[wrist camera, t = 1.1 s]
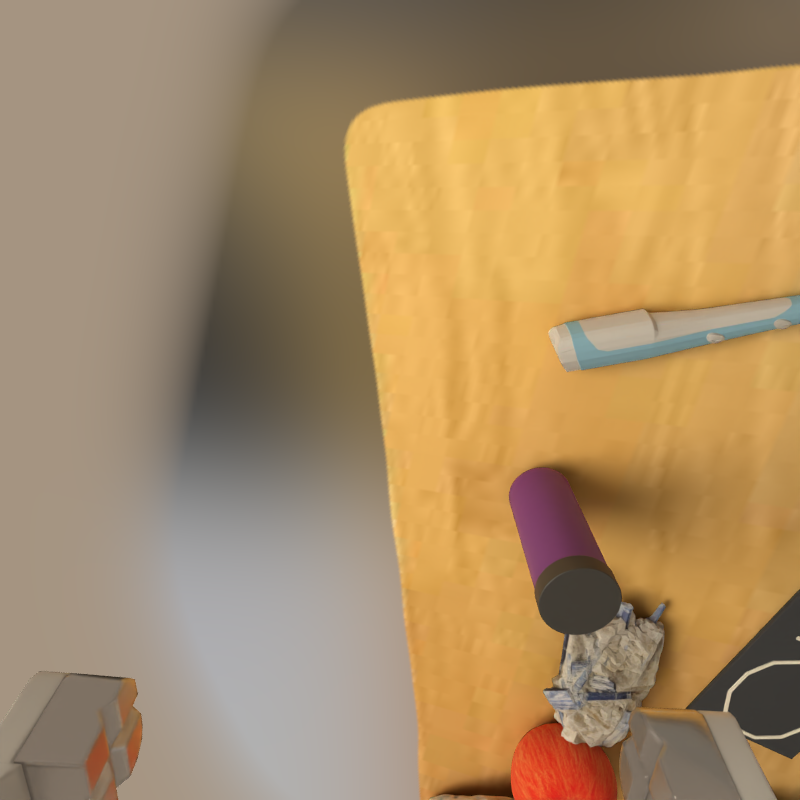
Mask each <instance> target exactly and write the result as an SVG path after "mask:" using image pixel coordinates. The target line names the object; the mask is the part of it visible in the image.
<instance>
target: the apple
mask: <svg viewBox="0 0 800 800" xmlns="http://www.w3.org/2000/svg"><path fill="white" fill-rule="evenodd" d="M562 730H563V726H562V724H561V723H549V724H545V725H541V726H538V727H535V728H533V729H532V730H530V731H529V732H528V733H527V734H526V735H525V736H524V737H523V738H522V739H521V741H520V742H519V744H518V745H517V748H516V750H515V752H514V756H513V760H512V767H511V788H512V793H513V796H514V799H515V800H617V782H616V777H615V774H614V771H613V768H612V766H611V763H610V761H609V759H608V757H607V755H606V754H605V752H604V751H603V750H602V748H601V747H599V746H594V747H590V746H589V745H588V744H587V743H579V744H573V743H572V742H569V741H567V740H566V739H564V737H563V736H561V732H562Z"/></svg>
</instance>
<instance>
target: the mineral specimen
mask: <svg viewBox="0 0 800 800" xmlns="http://www.w3.org/2000/svg"><path fill="white" fill-rule="evenodd" d="M665 607H666V606H665V605H664V604H663V603H661V604H660V605H659V606H658V608H657V609H656V611H655V612H654V613H653V615H652V616H650V617H648V618H646V619H643V618H639V619H635V614H634V612H632V611H633V608H634V607H633V606H632V605H631V603H626V602H621V606H620V609H619V611H618V613H617V615H616V616H615V617H614V619H613V620H612V621H611V622H610V623H609V624H607V625H606V626H605V627H603V628H601V629H599V630H597V631H595V632H592V633H589V634H583V635H569V634H565V637H564V644H563V651H562V658H561V663H560V670H559V675H557V676H555V677H554V678H552V682H553V686H554V687H552V688H546V689H544V690H543V692H544V695H545V696H546V698H547V700H548V701H549V703H550V704H551V705H552V706H553V708H554V709H555V714H554V718H555V719H556V720H557V721H558V722H559V723H561V724H562V726H563V730H562V732H561V736H563V737H564V739H566V740H567V741H569V742H572V743H573V744H579V743H587V744H588V745H589V746H590V747H594V746H599V747H602V746H605V747H612V746H613V745H614V744H615V743H617V742H619V741H621V740H623V739H624V738H625V737H626V735H627V733H628V731H629V729H630V727H629V724H628V722H629V718H630V715H631V712H632V711H633V710H634V709H635V707H642V703H641V701H642V700H643V699H644V698H646V696H647V695H648V693H649V689H650V688H652V687H653V686H654V684H655V681H656V677H655V676H656V672H657V671H658V669H659V667H658V663H659V659H660V654H661V652H662V650H663V643H664V632H665V631H664V630H663V629H664V625H663V623H661V622H660V621H659V622H657V620H658V619H659V617H660V616H661V614H662V613H663V611H664V609H665Z"/></svg>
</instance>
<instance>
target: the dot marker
mask: <svg viewBox="0 0 800 800" xmlns="http://www.w3.org/2000/svg"><path fill="white" fill-rule="evenodd" d="M509 501H510V505H511V508H512V512H513V515H514V519H515V522H516V526H517V529H518V533H519V536H520V539H521V543H522V546H523V550H524V553H525V557H526V560H527V564H528V567H529V571H530V574H531V578H532V581H533V585H534V588H535V598H536V602H537V605H538V609H539V612H540V615H541V617H542V619H543V620H544V622H545V623H546V624H547V625H548V626H550V627H551V628H552V629H554V630H556V631H558V632H561V633H564V634H569V635H583V634H589V633H592V632H595V631H597V630H599V629H601V628H603V627H605V626H606V625H607V624H609V623H610V622H611V621H612V620H613V619H614V617H615V616H616V615H617V613H618V611H619V609H620V606H621V601H622V595H621V590H620V587H619V585H618V583H617V581H616V579H615V577H614V575H613V573H612V571H611V570H610V568H609V567H608V566H607V564H606V562H605V560H604V558H603V555H602V553H601V551H600V549H599V547H598V545H597V543H596V540H595V538H594V536H593V534H592V532H591V530H590V527H589V525H588V523H587V521H586V519H585V517H584V515H583V512H582V510H581V508H580V506H579V504H578V502H577V500H576V497H575V495H574V493H573V491H572V489H571V487H570V484H569V482H568V480H567V479H566V478H565V477H564V475H562V474H561V473H560V472H558V471H556V470H554V469H550V468H543V467H541V468H534V469H530V470H528V471H526V472H524V473H522V474H521V475H520V476H518V477H517V478H516V480H515V481H514V482H513V484H512V486H511V488H510V492H509Z"/></svg>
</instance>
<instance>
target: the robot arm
mask: <svg viewBox="0 0 800 800" xmlns="http://www.w3.org/2000/svg"><path fill="white" fill-rule="evenodd" d="M137 695H138V693H137V688H136V683H135V679H131V678H122V677H111V676H99V675H88V674H76V673H60V672H46V671H39V672H38V673H37V674H36V675H34V676H33V677H32V678H31V679H30V680H29V681H28V683H27V684H26V686H25V687H24V689H23V691H22V692H21V693H20V695H19V696H18V698H17V699H16V701H15V702H14V704H13V705H12V707H11V708H10V710H9V711H8V713H7V714H6V716H5V717H4V719H3V720H2V722H1V723H0V800H118V796H117V790H116V788H117V787H118V786H119V785H120V784H121V783H123V782H124V781H125V780H126V779H127V778H129V777H130V775H131V773H132V771H133V768H134V766H135V763H136V760H137V758H138V753H139V749H140V745H141V740H142V718H141V713H140V712H139V711H138V710H137V709H135V708H134V707H133V704H134V701H135V699H136V697H137ZM628 724H629V727H630V731H631V734H632V736H630V737H629V738H628V739H626V740H625V741H624V742H623V743H622V748H621V752H620V757H619V776H620V782H621V788H622V792H623V796H624V800H777V798H776V796H775V794H774V792H773V790H772V788H771V787H770V785H769V783H768V781H767V779H766V777H765V775H764V773H763V771H762V769H761V767H760V765H759V763H758V761H757V759H756V757H755V755H754V753H753V751H752V749H751V747H750V745H749V743H748V741H747V740H746V738H745V736H744V734H743V732H742V730H741V728H740V726H739V724H738V722H737V720H736V718H735V717H734V716H733V715H732V714H731V713H730V712H718V711H701V710H698V711H695V710H691V709H669V708H647V707H635V709H634V710H633V711H632V712H631V715H630V718H629V722H628Z"/></svg>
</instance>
